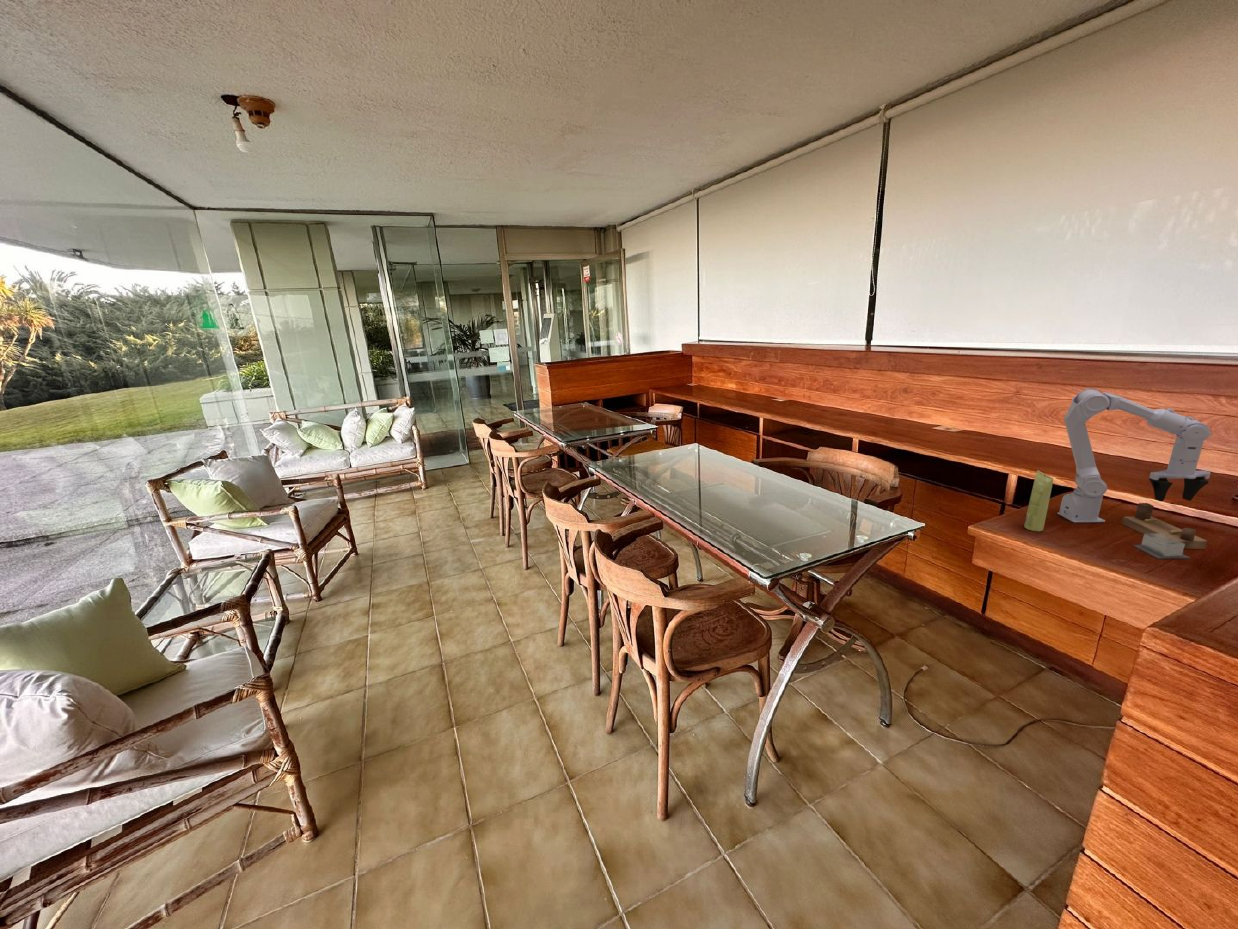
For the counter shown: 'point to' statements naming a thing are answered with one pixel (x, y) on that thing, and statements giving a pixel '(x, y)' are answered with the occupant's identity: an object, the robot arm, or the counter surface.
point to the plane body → (1162, 527)
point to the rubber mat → (1158, 554)
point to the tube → (1039, 502)
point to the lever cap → (1163, 545)
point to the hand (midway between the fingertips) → (1172, 499)
